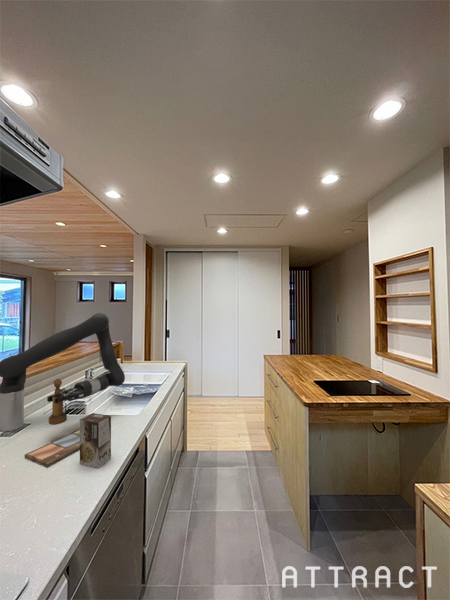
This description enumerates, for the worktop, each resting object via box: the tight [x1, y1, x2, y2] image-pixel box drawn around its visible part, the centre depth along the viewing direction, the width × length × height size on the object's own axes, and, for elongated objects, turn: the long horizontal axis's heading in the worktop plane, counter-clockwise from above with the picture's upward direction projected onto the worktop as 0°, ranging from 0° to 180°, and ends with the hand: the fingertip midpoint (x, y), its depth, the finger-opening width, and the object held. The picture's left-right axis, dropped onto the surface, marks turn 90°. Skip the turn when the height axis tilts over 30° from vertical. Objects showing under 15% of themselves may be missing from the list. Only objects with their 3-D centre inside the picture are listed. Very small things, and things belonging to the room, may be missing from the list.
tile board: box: [24, 428, 80, 468], centre depth 109 cm, size 14×27×2 cm, turn 155°
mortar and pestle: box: [48, 378, 68, 426], centre depth 114 cm, size 7×6×18 cm
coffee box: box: [79, 412, 112, 469], centre depth 98 cm, size 9×6×16 cm
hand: (51, 400), depth 111 cm, fingers closed on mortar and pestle, 4 cm apart
